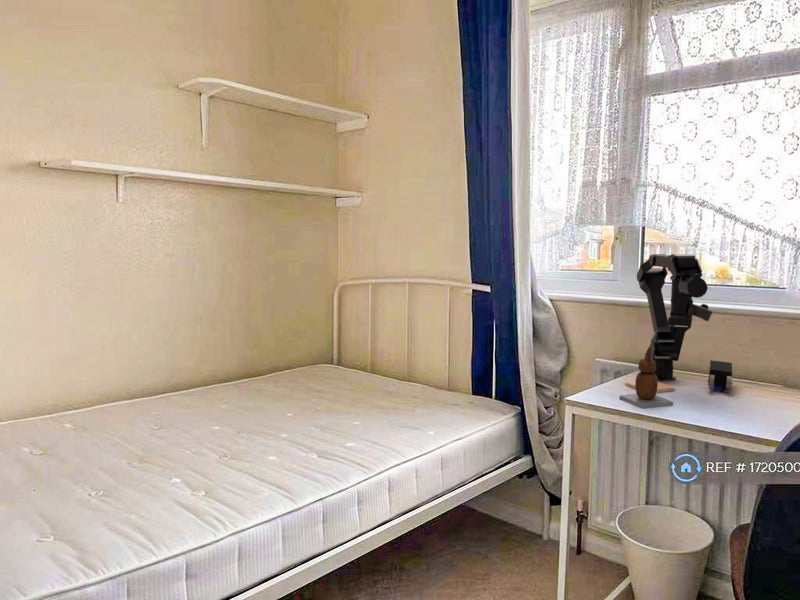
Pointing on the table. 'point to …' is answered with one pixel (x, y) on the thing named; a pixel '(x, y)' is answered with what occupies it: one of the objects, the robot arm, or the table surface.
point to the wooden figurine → (646, 378)
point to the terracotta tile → (660, 387)
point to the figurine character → (720, 375)
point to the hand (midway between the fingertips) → (679, 346)
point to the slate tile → (646, 401)
